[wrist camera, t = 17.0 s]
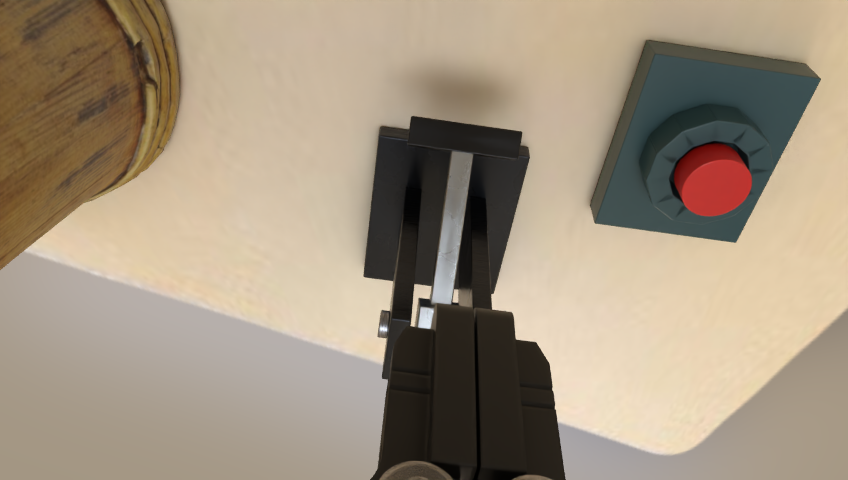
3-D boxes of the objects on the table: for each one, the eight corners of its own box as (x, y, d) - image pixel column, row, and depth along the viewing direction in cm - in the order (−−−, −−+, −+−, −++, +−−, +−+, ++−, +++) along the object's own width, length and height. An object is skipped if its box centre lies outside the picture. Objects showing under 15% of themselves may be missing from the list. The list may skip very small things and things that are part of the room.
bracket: (380, 125, 41) (353, 259, 31) (528, 146, 41) (550, 285, 31) (365, 266, 48) (339, 415, 37) (493, 283, 48) (501, 434, 38)
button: (687, 138, 37) (696, 155, 35) (752, 147, 37) (764, 164, 35) (664, 194, 39) (671, 211, 37) (725, 203, 39) (735, 221, 38)
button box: (646, 39, 37) (663, 69, 34) (806, 63, 38) (838, 95, 34) (589, 205, 44) (599, 243, 41) (726, 224, 44) (746, 263, 41)
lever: (410, 118, 36) (411, 114, 34) (516, 134, 36) (524, 130, 34) (380, 344, 37) (378, 356, 35) (482, 357, 37) (488, 370, 35)
